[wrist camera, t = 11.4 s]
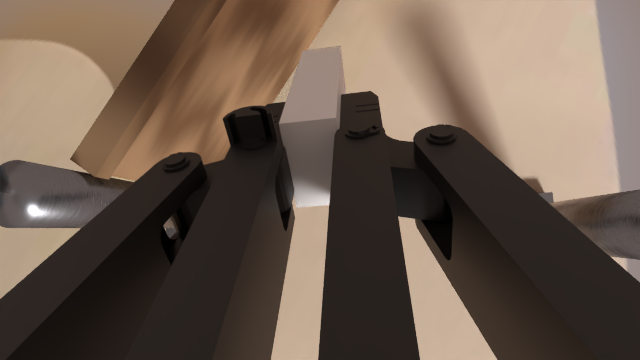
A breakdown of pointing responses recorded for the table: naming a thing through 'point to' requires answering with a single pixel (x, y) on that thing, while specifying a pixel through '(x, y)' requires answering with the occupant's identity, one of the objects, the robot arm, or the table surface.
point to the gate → (198, 81)
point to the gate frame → (97, 193)
